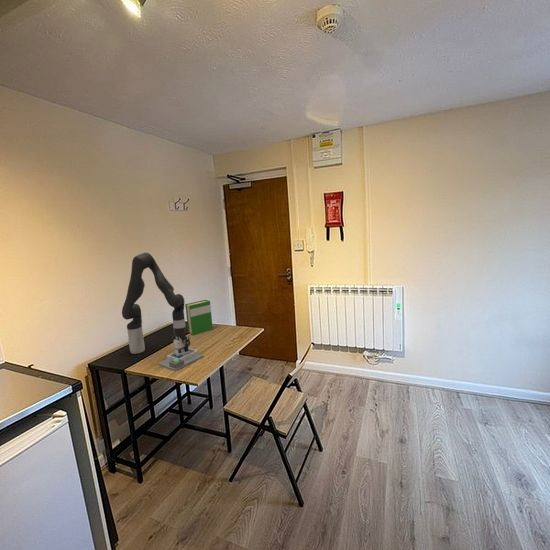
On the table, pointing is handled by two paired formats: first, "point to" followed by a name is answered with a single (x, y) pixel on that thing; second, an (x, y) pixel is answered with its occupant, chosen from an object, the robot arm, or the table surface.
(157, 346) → the table surface
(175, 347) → the ink box
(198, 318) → the hardback book
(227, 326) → the table surface
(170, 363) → the grey tray
